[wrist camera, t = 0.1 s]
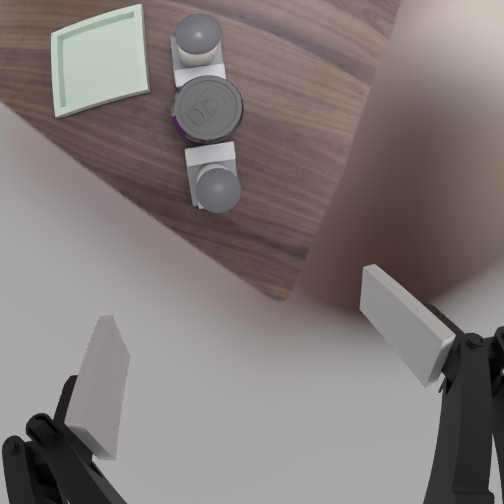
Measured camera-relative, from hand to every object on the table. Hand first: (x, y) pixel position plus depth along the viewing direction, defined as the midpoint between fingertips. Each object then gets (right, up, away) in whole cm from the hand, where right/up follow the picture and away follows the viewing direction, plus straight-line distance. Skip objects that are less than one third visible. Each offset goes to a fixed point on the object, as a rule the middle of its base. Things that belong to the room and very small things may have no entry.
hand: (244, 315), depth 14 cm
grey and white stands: (-6, +21, +21) cm, 30 cm away
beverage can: (-6, +21, +21) cm, 30 cm away
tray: (-20, +28, +15) cm, 38 cm away
